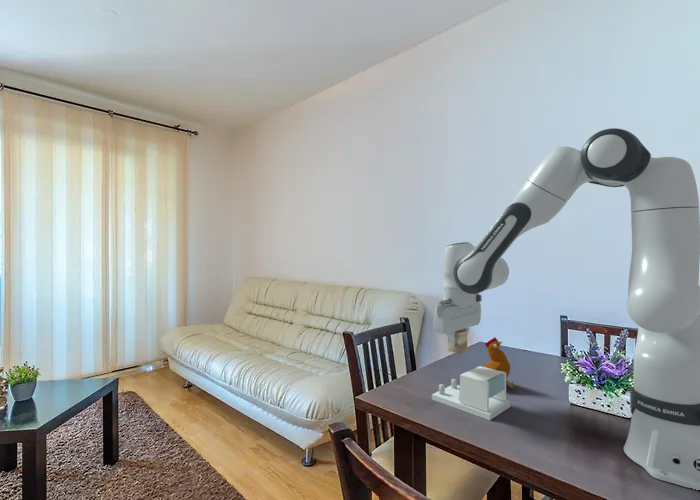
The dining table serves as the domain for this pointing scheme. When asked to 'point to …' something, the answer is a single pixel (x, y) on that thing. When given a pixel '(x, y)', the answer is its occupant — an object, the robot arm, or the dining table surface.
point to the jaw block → (459, 342)
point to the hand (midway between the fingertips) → (457, 344)
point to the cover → (482, 387)
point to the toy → (498, 359)
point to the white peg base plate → (453, 399)
